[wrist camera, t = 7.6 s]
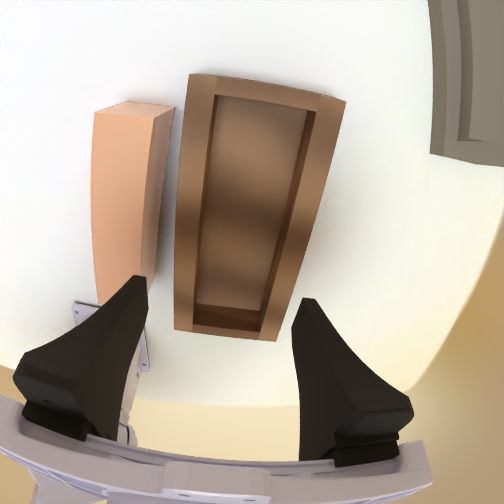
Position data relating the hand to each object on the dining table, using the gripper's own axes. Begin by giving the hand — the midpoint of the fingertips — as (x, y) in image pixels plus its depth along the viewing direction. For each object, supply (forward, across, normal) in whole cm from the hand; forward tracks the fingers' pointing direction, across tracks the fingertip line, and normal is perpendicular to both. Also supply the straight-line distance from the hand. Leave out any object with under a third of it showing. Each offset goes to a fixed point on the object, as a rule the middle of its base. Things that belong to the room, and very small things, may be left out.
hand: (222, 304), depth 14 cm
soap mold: (+11, -16, -18) cm, 27 cm away
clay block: (+10, +7, 0) cm, 12 cm away
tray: (+10, -1, 0) cm, 10 cm away
